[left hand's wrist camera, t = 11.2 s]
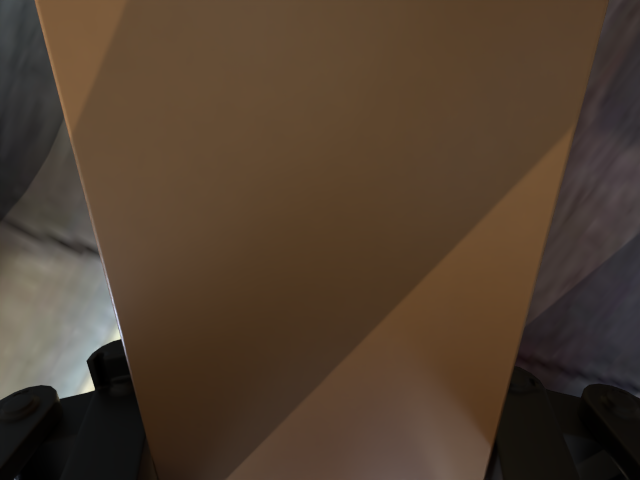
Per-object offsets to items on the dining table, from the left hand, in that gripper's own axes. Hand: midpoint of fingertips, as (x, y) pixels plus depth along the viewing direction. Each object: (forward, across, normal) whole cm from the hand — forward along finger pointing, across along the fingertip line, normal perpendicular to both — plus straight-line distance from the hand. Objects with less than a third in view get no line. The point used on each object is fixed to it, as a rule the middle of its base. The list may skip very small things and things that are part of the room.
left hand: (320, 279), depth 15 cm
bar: (+1, 0, -11) cm, 11 cm away
